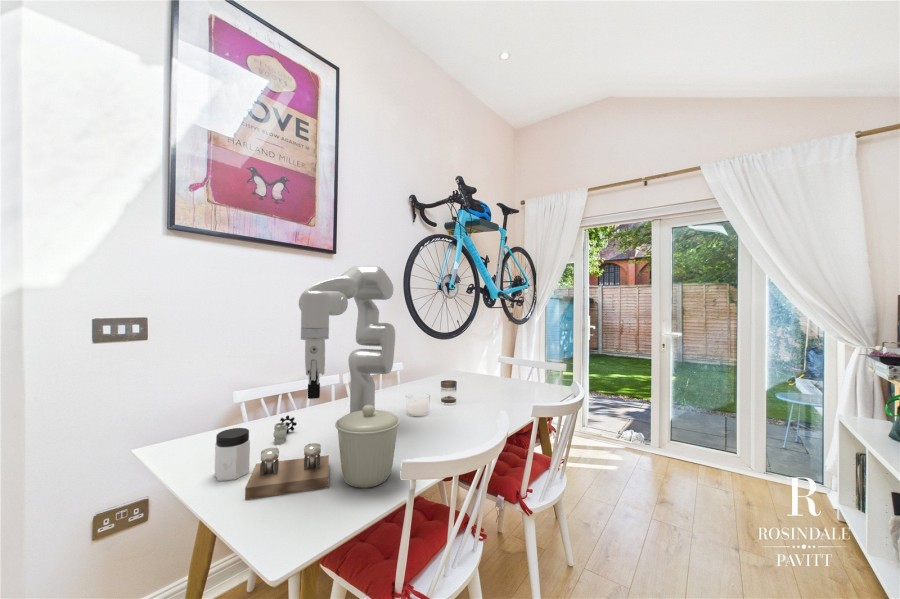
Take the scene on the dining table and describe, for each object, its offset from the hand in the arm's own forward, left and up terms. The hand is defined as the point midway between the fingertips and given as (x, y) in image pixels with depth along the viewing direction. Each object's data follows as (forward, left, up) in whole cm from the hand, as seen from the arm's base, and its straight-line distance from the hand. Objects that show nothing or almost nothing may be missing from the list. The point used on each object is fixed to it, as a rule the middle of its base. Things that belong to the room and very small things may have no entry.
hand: (313, 397), depth 101 cm
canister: (-15, +5, -23) cm, 28 cm away
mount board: (+6, 0, -23) cm, 24 cm away
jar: (+22, -9, -23) cm, 33 cm away
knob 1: (+11, 0, -20) cm, 23 cm away
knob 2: (0, 0, -20) cm, 20 cm away
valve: (+12, -34, -23) cm, 43 cm away
